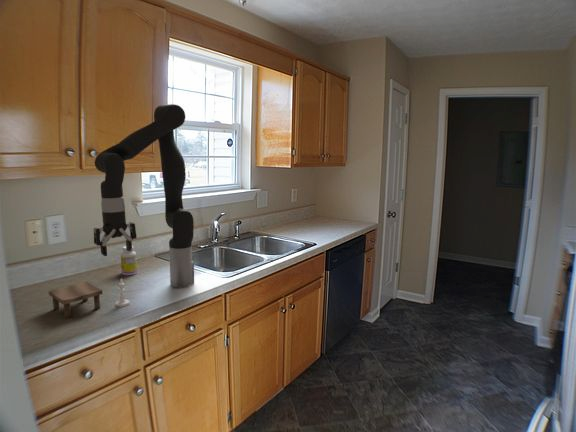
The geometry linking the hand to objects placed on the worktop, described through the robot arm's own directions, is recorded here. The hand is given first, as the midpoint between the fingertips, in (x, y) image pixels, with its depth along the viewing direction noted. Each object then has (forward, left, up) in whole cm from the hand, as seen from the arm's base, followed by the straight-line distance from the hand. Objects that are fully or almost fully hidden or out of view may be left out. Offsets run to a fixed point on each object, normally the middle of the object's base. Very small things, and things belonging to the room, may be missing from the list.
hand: (117, 253), depth 136 cm
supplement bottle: (-20, -30, -21) cm, 42 cm away
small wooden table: (+12, -8, -20) cm, 25 cm away
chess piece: (-1, 0, -21) cm, 21 cm away
